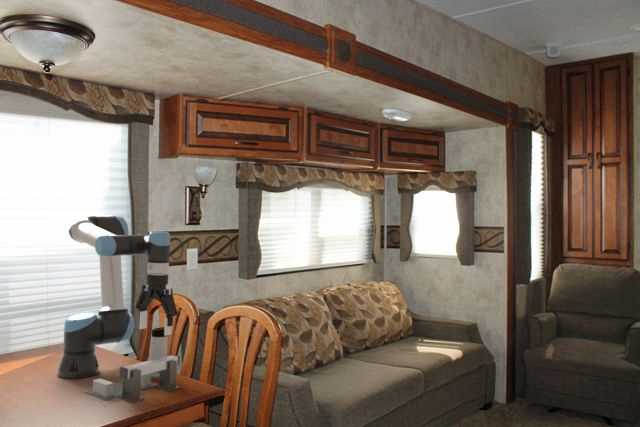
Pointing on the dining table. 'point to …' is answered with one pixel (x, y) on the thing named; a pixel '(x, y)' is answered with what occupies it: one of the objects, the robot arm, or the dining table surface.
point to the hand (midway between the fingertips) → (155, 331)
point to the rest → (115, 387)
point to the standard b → (168, 378)
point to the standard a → (132, 388)
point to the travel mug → (158, 347)
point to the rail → (148, 366)
